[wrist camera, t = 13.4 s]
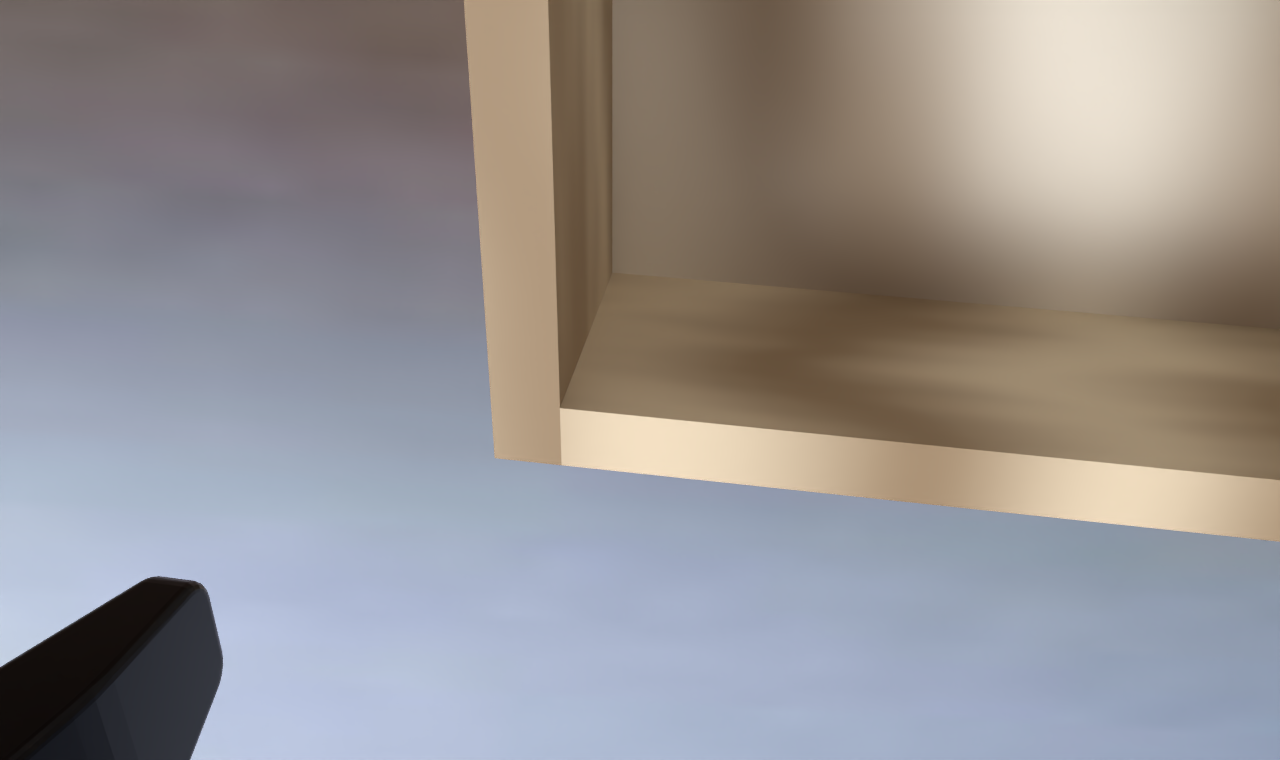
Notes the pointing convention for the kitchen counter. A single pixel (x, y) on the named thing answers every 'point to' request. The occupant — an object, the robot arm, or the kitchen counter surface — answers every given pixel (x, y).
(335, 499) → the kitchen counter surface
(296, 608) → the kitchen counter surface
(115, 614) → the robot arm
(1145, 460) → the walled box
